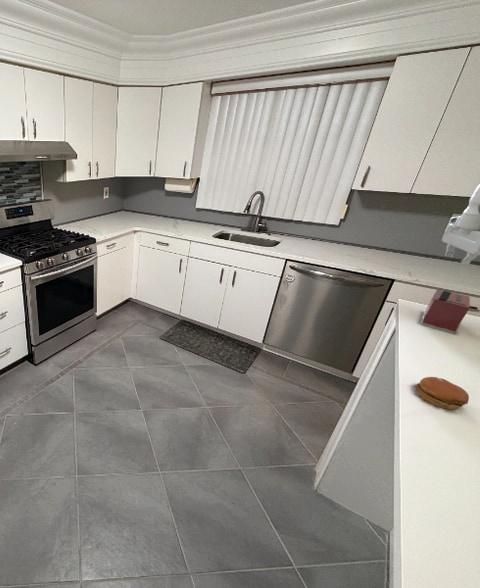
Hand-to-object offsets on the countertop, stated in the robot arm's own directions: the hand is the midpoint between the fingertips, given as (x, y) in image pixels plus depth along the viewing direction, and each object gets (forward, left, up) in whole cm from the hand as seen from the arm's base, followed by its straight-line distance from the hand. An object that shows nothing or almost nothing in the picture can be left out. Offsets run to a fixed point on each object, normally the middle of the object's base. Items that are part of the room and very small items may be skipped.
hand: (455, 260), depth 115 cm
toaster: (-5, -1, -26) cm, 26 cm away
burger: (+9, +59, -26) cm, 65 cm away
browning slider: (-1, +4, -14) cm, 15 cm away
